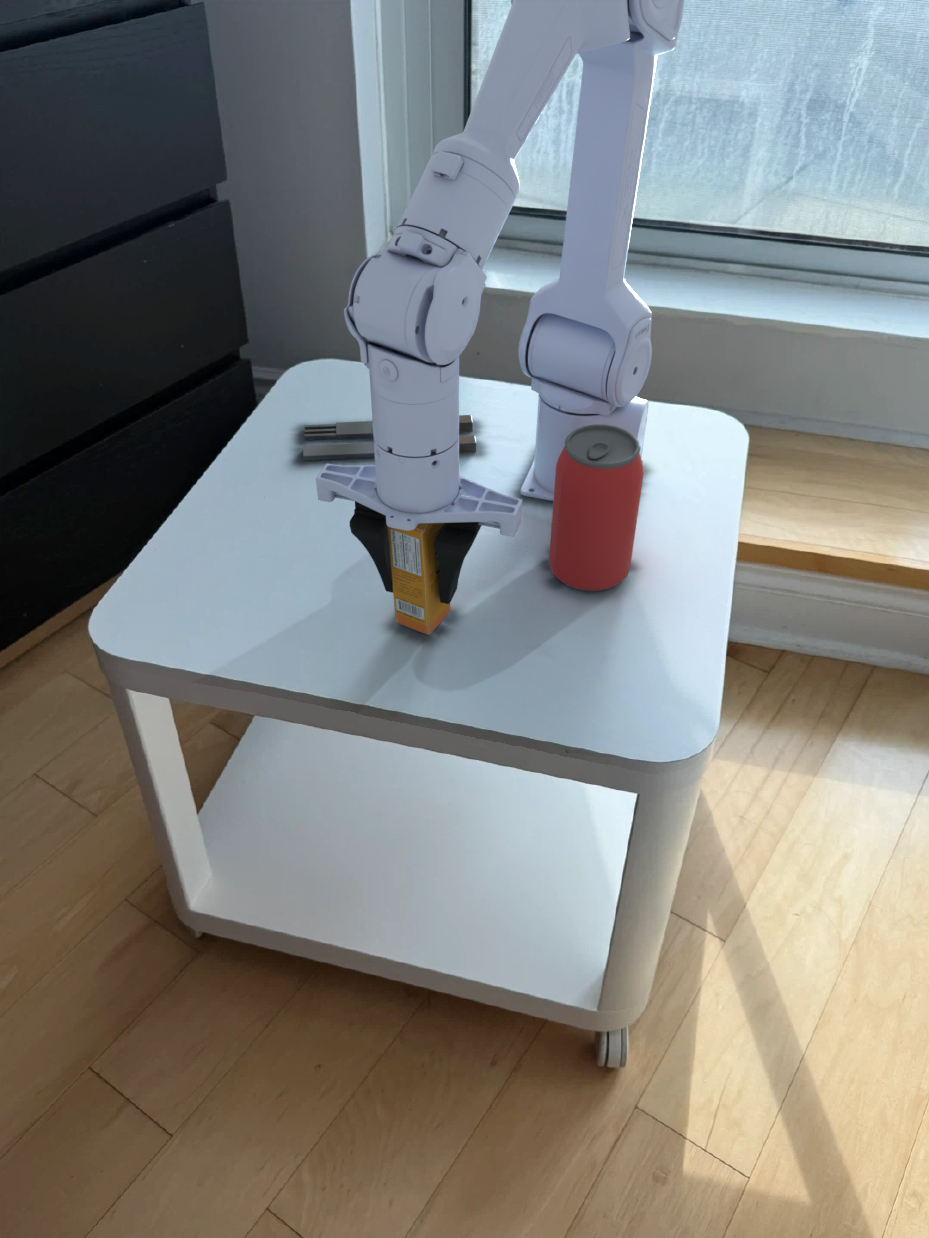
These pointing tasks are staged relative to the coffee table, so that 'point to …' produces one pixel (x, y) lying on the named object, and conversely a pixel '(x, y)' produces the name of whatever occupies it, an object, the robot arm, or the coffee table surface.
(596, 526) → the beer can
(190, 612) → the coffee table surface
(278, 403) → the coffee table surface
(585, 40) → the robot arm
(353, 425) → the cutlery
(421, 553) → the supplement box
